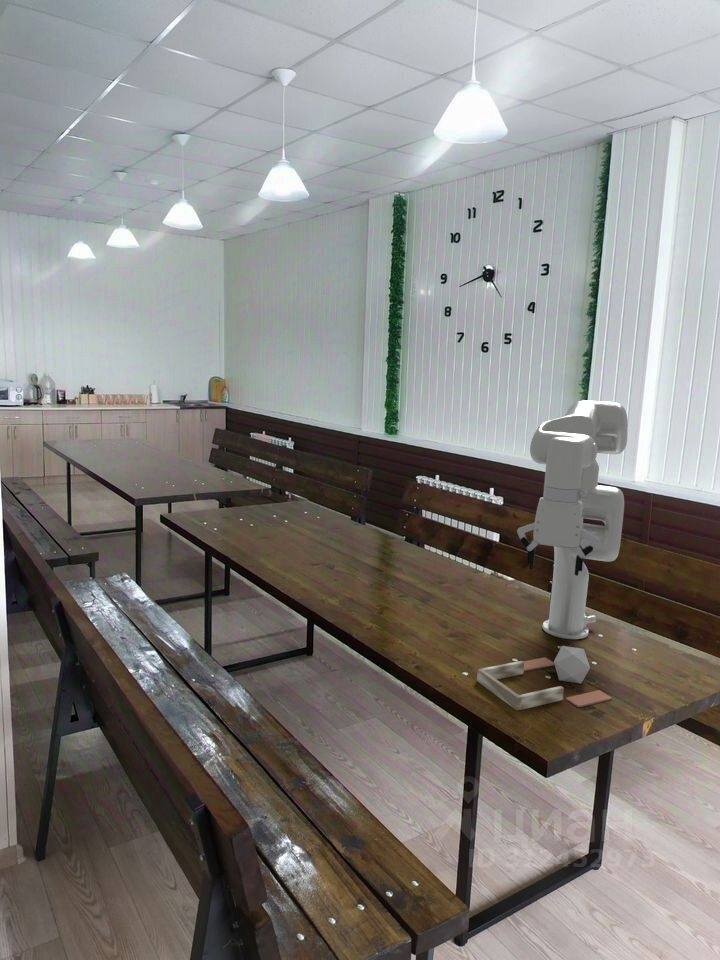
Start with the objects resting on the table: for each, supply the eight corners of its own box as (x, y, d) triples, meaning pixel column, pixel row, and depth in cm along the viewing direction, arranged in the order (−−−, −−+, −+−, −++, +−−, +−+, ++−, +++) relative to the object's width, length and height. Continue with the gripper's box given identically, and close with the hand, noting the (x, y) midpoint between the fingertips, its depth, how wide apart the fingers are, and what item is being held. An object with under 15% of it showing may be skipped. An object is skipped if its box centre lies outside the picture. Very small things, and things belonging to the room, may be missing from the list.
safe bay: (520, 672, 175) (521, 660, 174) (562, 700, 162) (563, 687, 161) (476, 681, 169) (477, 669, 169) (516, 710, 156) (517, 698, 156)
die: (589, 677, 175) (571, 640, 178) (602, 675, 167) (583, 637, 170) (560, 691, 174) (542, 653, 176) (572, 689, 166) (552, 650, 168)
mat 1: (544, 658, 183) (545, 657, 183) (555, 665, 180) (555, 663, 180) (513, 664, 179) (513, 663, 179) (523, 671, 175) (523, 669, 175)
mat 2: (599, 691, 167) (599, 690, 167) (611, 699, 163) (611, 697, 163) (566, 699, 162) (566, 697, 162) (578, 707, 159) (578, 705, 159)
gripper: (604, 496, 154) (595, 571, 158) (523, 487, 160) (516, 560, 163) (602, 502, 147) (594, 581, 151) (518, 493, 153) (511, 569, 156)
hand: (553, 570), depth 157 cm, fingers open, 9 cm apart
